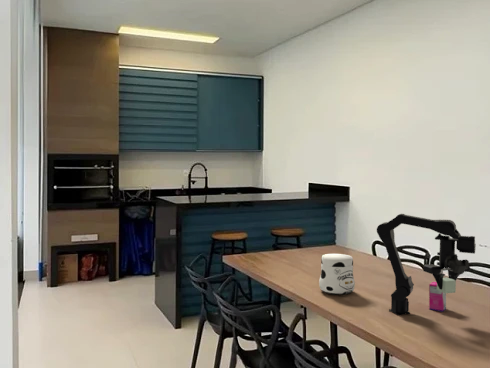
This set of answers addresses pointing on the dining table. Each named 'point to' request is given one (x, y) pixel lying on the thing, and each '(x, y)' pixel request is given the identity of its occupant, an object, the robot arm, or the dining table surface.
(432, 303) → the supplement box
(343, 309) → the dining table surface
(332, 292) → the milk container
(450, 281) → the sage cube
